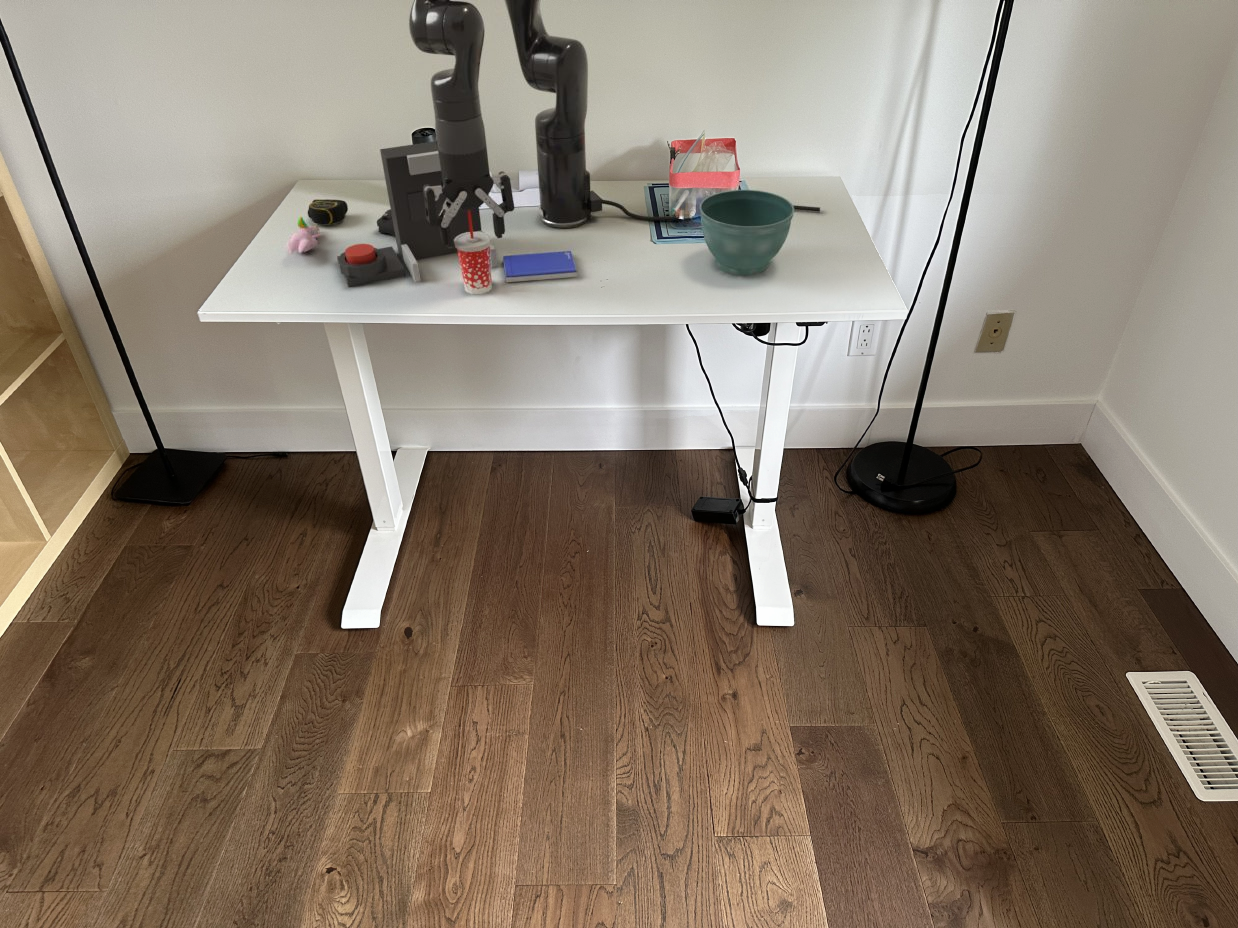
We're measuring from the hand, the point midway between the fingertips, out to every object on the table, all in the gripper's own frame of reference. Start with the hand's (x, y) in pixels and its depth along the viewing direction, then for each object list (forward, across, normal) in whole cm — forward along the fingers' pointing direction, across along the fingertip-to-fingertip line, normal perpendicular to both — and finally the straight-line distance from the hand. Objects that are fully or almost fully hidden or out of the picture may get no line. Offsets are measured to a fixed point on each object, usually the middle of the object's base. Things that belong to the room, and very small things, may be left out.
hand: (474, 241), depth 144 cm
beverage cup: (+9, 0, 0) cm, 9 cm away
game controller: (+9, -7, +30) cm, 32 cm away
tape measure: (+9, -19, +40) cm, 45 cm away
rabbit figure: (+9, -25, +28) cm, 39 cm away
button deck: (+8, -16, +14) cm, 23 cm away
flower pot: (+9, +46, -11) cm, 48 cm away
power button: (+5, -17, +13) cm, 22 cm away
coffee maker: (+9, -2, +13) cm, 16 cm away
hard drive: (+9, +12, +2) cm, 15 cm away
